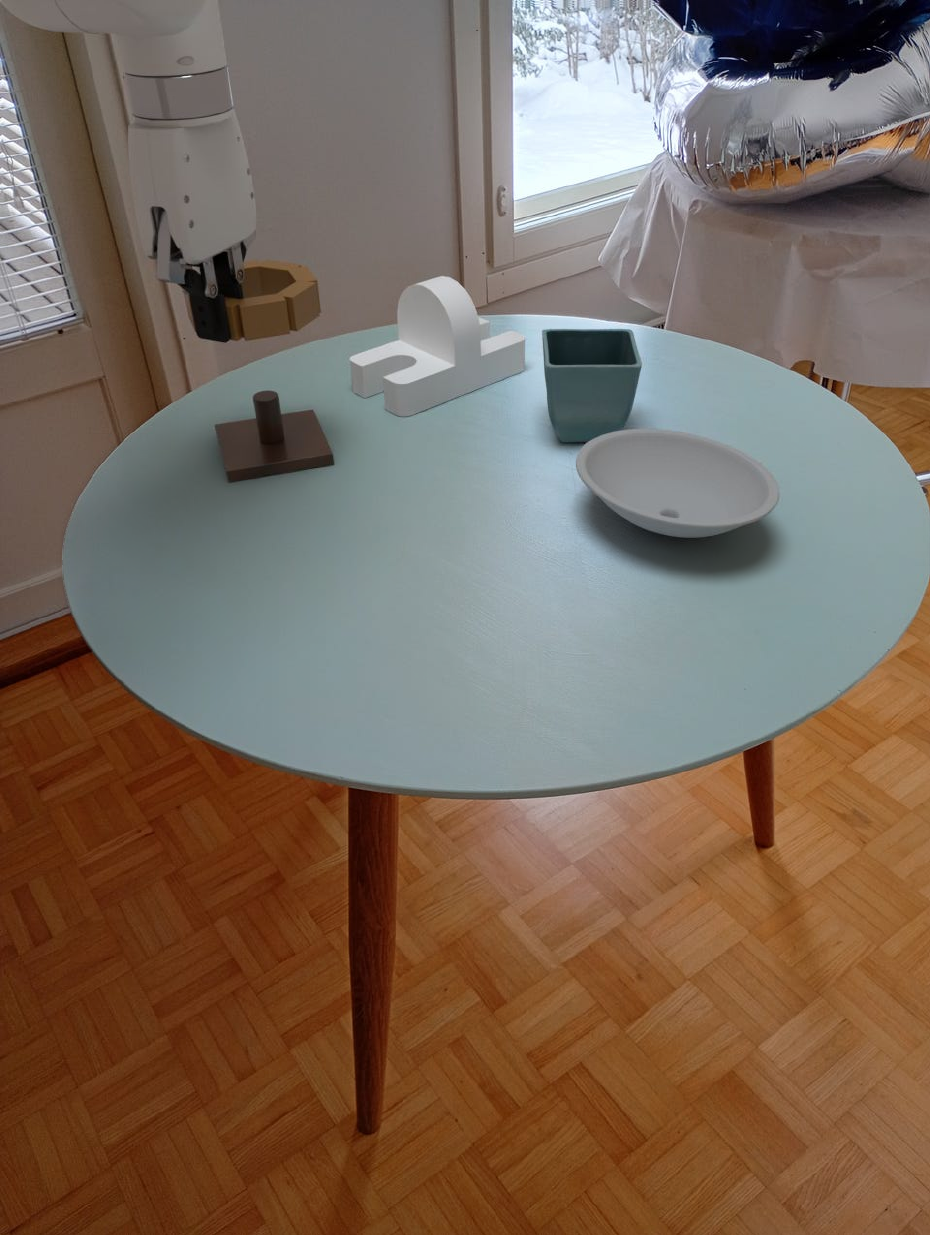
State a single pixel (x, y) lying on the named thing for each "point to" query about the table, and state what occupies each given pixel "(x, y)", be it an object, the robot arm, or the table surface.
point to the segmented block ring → (271, 301)
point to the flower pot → (589, 380)
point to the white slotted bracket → (436, 351)
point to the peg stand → (272, 441)
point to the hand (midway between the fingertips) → (222, 332)
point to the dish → (676, 481)
